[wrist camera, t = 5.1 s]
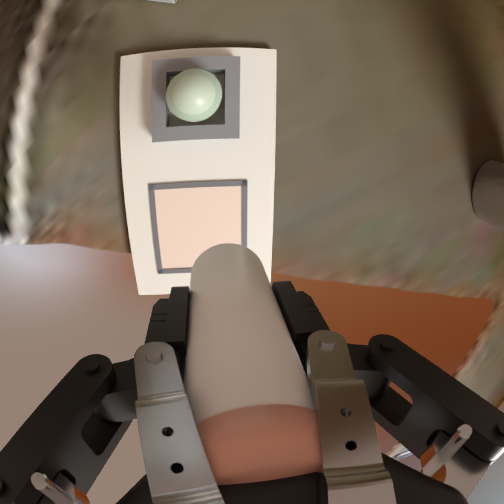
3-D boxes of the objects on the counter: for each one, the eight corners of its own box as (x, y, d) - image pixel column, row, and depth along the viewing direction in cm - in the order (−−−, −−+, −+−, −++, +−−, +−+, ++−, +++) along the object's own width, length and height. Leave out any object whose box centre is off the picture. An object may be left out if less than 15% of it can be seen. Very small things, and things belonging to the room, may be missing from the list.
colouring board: (273, 52, 23) (281, 44, 20) (268, 283, 33) (273, 299, 30) (124, 59, 21) (114, 51, 18) (141, 289, 31) (135, 305, 28)
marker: (266, 240, 14) (366, 444, 4) (264, 306, 15) (326, 500, 6) (186, 243, 13) (166, 471, 4) (192, 310, 15) (195, 516, 5)
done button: (221, 74, 21) (222, 67, 19) (220, 121, 23) (222, 120, 20) (171, 77, 21) (165, 70, 18) (171, 123, 23) (165, 122, 20)
